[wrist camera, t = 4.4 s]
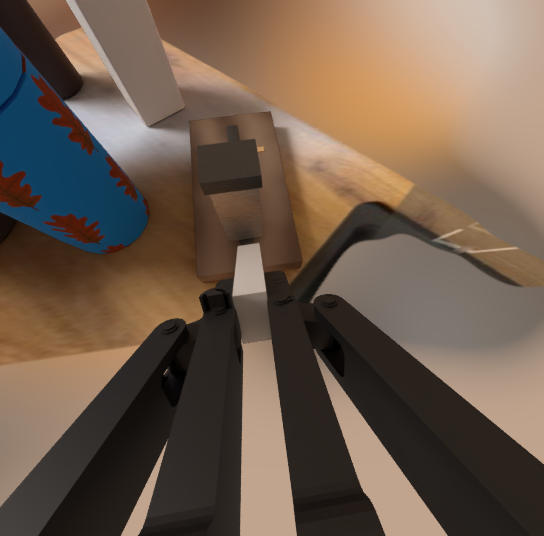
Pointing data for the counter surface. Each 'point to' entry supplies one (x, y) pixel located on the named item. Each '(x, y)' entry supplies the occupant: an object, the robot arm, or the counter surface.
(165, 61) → the milk carton
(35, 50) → the bottle
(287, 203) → the console
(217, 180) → the fader handle
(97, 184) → the thermos
